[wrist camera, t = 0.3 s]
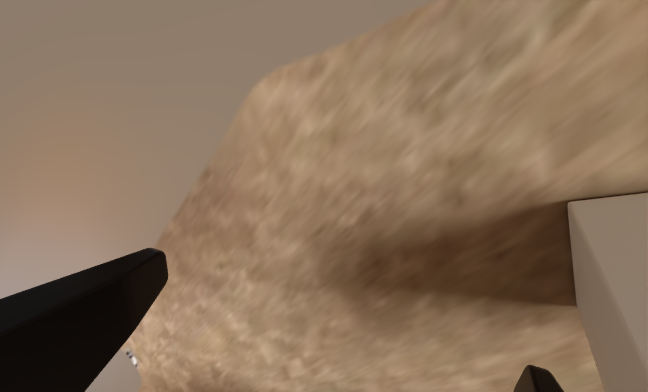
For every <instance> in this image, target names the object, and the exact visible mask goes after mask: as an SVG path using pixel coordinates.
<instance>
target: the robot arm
mask: <svg viewBox="0 0 648 392" xmlns="http://www.w3.org/2000/svg"><path fill="white" fill-rule="evenodd" d="M167 280H168V269H167V262H166V256H165V254H164V252H163V251H160V250H157V249H154V248H147V249H143V250H141V251H138V252H135V253H132V254H129V255H126V256H123V257H120V258H117V259H115V260H112V261H109V262H106V263H103V264H100V265H97V266H94V267H91V268H89V269H86V270H83V271H80V272H77V273H74V274H71V275H68V276H65V277H63V278H60V279H57V280H54V281H51V282H48V283H45V284H42V285H39V286H37V287H34V288H31V289H28V290H25V291H22V292H19V293H16V294H13V295H11V296H8V297H5V298H2V299H0V392H85V390H86V389H87V388H88V387H89V386H90V384H91V383H92V382H93V381H94V379H95V378H96V377H97V376H98V375H99V373H100V372H101V371H102V370H103V368H104V367H105V366H106V365H107V364H108V362H109V361H110V360H111V359H112V358H113V356H114V355H115V354H116V353H117V352H118V350H119V349H120V348H121V347H122V345H123V344H124V343H125V342H126V341H127V339H128V338H129V337H130V335H131V334H132V333H133V332H134V330H135V329H136V327H137V326H138V325H139V323H140V322H141V320H142V319H143V317H144V316H145V314H146V313H147V311H148V310H149V308H150V307H151V305H152V304H153V302H154V301H155V299H156V298H157V296H158V295H159V293H160V292H161V290H162V289H163V287H164V286H165V284H166V282H167ZM514 392H564V391H563V390H562V388H561V387H560V385H559V384H558V382H557V381H556V379H555V378H554V376H553V375H552V374H551V373H550V372H549V371H548V370H546V369H543V368H540V367H536V366H533V365H528V366H526V367H525V369H524V371H523V373H522V375H521V377H520V379H519V380H518V382H517V384H516V386H515V388H514Z"/></svg>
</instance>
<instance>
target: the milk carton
mask: <svg viewBox="0 0 648 392" xmlns="http://www.w3.org/2000/svg"><path fill="white" fill-rule="evenodd" d="M568 220H569V230H570V241H571V251H572V262H573V272H574V283H575V293H576V303H577V308H578V311H579V314H580V317H581V320H582V323H583V326H584V329H585V332H586V335H587V338H588V342H589V345H590V348H591V351H592V354H593V357H594V360H595V363H596V366H597V369H598V372H599V375H600V378H601V381H602V384H603V387H604V390H605V392H648V193H641V194H633V195H624V196H616V197H607V198H599V199H590V200H581V201H573V202H569V203H568Z"/></svg>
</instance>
